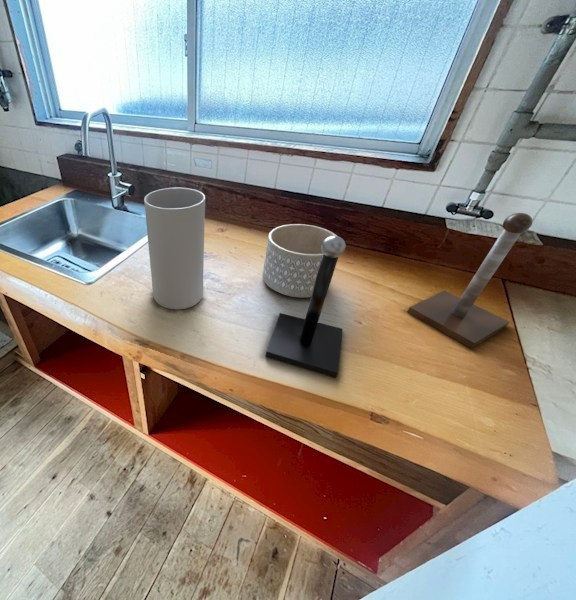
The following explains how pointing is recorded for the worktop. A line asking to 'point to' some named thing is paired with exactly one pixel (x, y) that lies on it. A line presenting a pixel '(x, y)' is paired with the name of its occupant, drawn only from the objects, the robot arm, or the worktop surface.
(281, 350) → the black holder
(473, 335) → the paper towel stand
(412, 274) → the worktop surface
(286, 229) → the planter
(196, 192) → the cylinder vase
